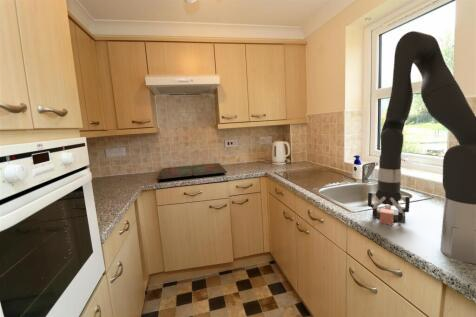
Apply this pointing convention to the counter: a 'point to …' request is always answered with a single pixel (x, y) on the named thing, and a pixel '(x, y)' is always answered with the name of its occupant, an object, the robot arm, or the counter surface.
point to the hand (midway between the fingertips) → (387, 218)
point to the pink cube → (386, 216)
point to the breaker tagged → (387, 206)
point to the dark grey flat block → (394, 214)
